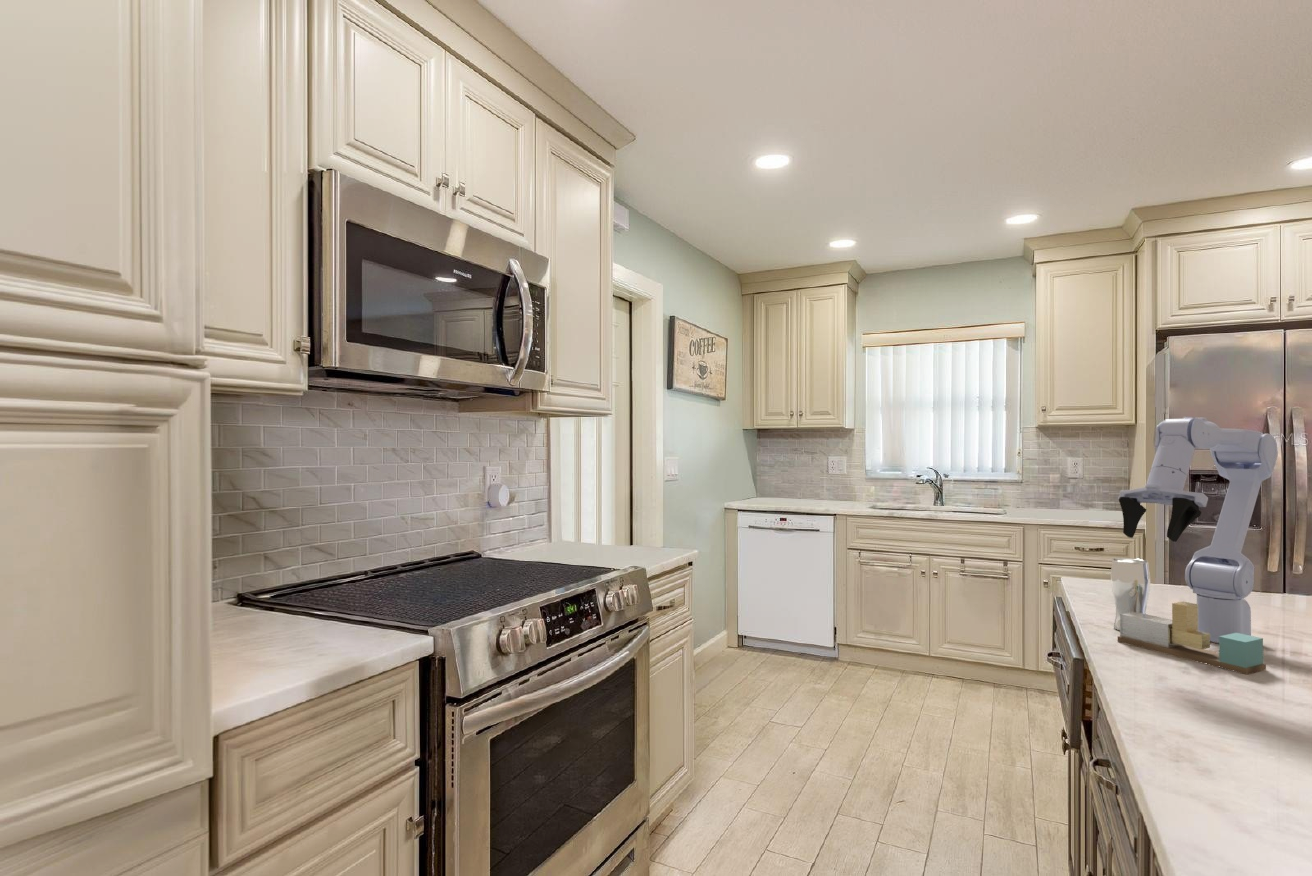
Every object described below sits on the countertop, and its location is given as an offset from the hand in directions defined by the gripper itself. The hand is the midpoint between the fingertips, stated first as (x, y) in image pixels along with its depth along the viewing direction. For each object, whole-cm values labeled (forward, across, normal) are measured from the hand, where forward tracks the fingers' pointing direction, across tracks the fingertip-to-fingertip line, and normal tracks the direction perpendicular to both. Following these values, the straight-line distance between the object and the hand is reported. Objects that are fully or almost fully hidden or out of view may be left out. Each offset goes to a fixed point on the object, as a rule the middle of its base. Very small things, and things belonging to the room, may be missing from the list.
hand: (1149, 537), depth 129 cm
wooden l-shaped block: (+13, -2, +18) cm, 23 cm away
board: (+15, +1, +19) cm, 24 cm away
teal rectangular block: (+14, +10, +19) cm, 26 cm away
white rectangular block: (+14, -6, +19) cm, 24 cm away
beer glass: (+11, -14, +26) cm, 31 cm away
